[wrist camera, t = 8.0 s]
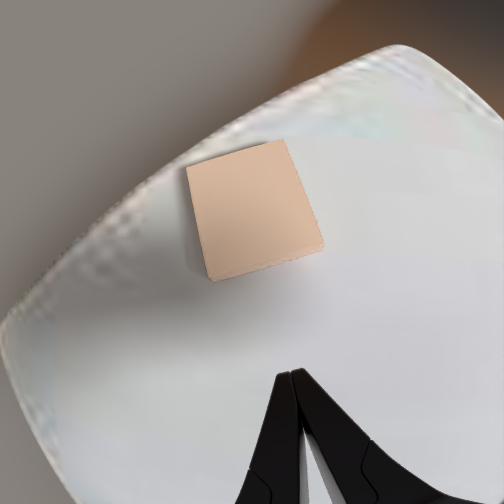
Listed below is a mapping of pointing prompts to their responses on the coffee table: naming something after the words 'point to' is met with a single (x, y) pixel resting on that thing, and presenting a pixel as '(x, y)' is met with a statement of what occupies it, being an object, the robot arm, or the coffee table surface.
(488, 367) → the coffee table surface
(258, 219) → the tile
